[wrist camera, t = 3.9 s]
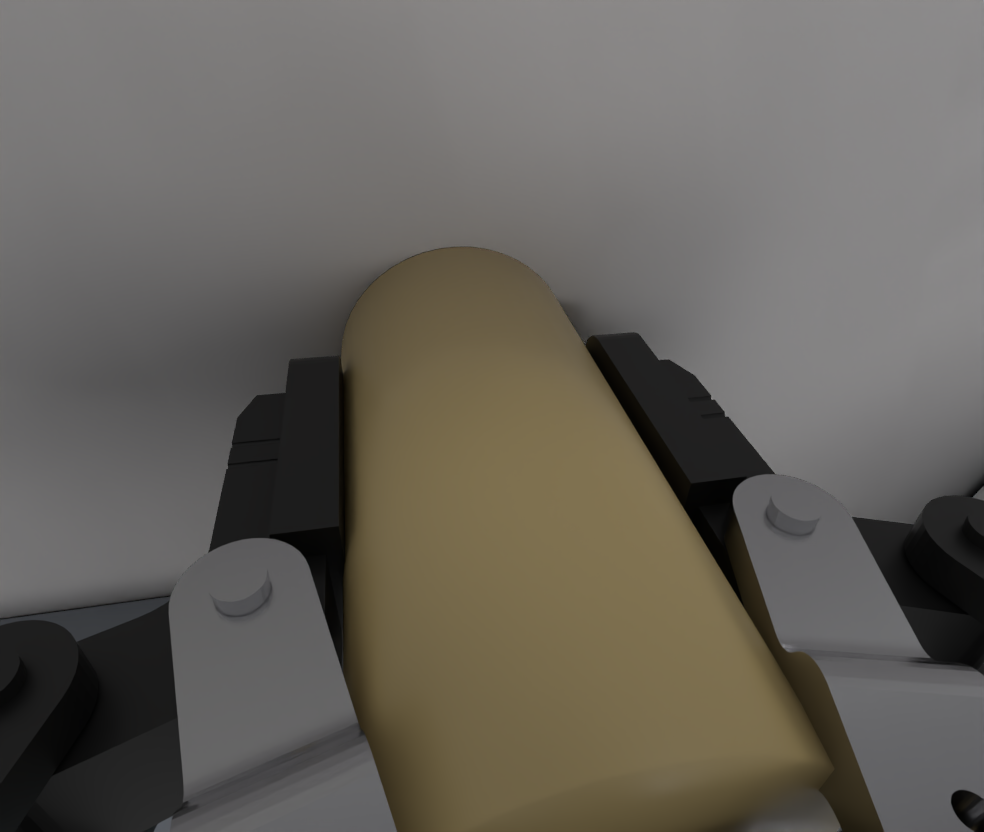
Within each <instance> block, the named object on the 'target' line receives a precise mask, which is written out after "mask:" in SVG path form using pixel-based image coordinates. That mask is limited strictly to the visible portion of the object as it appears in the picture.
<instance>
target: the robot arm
mask: <svg viewBox="0 0 984 832" xmlns="http://www.w3.org/2000/svg"><path fill="white" fill-rule="evenodd" d="M586 348H587V350H588V352H589V353H590V355H591V356H592V358H593V360H594V361H595V363H596V365H597V366H598V368H599V370H600V371H601V373H602V375H603V376H604V378H605V380H606V381H607V383H608V385H609V386H610V388H611V389H612V391H613V393H614V394H615V396H616V398H617V399H618V401H619V403H620V404H621V406H622V408H623V409H624V411H625V413H626V414H627V416H628V417H629V419H630V421H631V422H632V424H633V426H634V427H635V429H636V431H637V432H638V434H639V436H640V437H641V439H642V441H643V442H644V444H645V445H646V447H647V449H648V450H649V452H650V454H651V455H652V457H653V459H654V460H655V462H656V464H657V465H658V467H659V469H660V470H661V472H662V473H663V475H664V477H665V478H666V480H667V482H668V483H669V485H670V487H671V488H672V490H673V492H674V493H675V495H676V497H677V498H678V500H679V502H680V503H681V505H682V506H683V508H684V510H685V511H686V513H687V515H688V516H689V518H690V520H691V521H692V523H693V525H694V526H695V528H696V530H697V531H698V533H699V534H700V536H701V538H702V539H703V541H704V543H705V544H706V546H707V548H708V549H709V551H710V553H711V554H712V556H713V558H714V559H715V561H716V562H717V564H718V566H719V567H720V569H721V571H722V572H723V574H724V576H725V577H726V579H727V581H728V582H729V584H730V586H731V587H732V589H733V590H734V592H735V594H736V595H737V597H738V599H739V600H740V602H741V604H742V605H743V607H744V609H745V610H746V612H747V614H748V615H749V617H750V619H751V620H752V622H753V623H754V625H755V627H756V628H757V630H758V632H759V633H760V635H761V637H762V638H763V640H764V642H765V643H766V645H767V647H768V648H769V650H770V651H771V653H772V655H773V657H774V658H775V660H776V662H777V663H778V665H779V667H780V668H781V670H782V672H783V674H784V675H785V677H786V679H787V680H788V682H789V684H790V686H791V687H792V689H793V691H794V692H795V694H796V696H797V698H798V699H799V701H800V703H801V704H802V706H803V708H804V710H805V712H806V714H807V716H808V718H809V720H810V722H811V724H812V726H813V728H814V730H815V732H816V734H817V735H818V737H819V739H820V741H821V743H822V745H823V747H824V749H825V751H826V753H827V755H828V757H829V759H830V761H831V763H832V765H833V766H834V768H835V769H834V771H833V772H832V773H831V775H830V776H829V777H828V779H827V780H826V781H825V782H824V784H823V785H822V786H821V788H820V789H819V790H818V791H819V792H821V793H822V795H823V796H824V797H825V799H826V800H827V801H828V803H829V804H830V806H831V808H832V810H833V811H834V813H835V815H836V818H837V820H838V822H839V824H840V828H839V829H838V831H837V832H984V500H980V499H976V498H971V497H965V496H943V497H939V498H936V499H933V500H931V501H930V502H929V503H927V504H926V506H925V507H924V509H923V511H922V512H921V514H920V516H919V517H918V519H917V520H916V522H915V524H914V525H912V524H904V523H896V522H888V521H880V520H872V519H864V518H856V517H851V515H850V514H849V512H848V511H847V509H846V508H845V507H844V506H843V505H842V504H841V503H840V502H839V501H838V500H837V499H836V498H835V497H833V496H832V495H831V494H829V493H828V492H826V491H825V490H823V489H821V488H820V487H818V486H816V485H814V484H811V483H809V482H807V481H804V480H801V479H798V478H795V477H790V476H786V475H777V474H775V473H774V472H773V471H772V470H771V468H770V467H769V466H768V465H767V464H766V462H765V461H764V460H763V459H762V457H761V456H760V455H759V454H758V453H757V451H756V450H755V449H754V448H753V446H752V445H751V444H750V443H749V442H748V440H747V439H746V438H745V437H744V435H743V434H742V433H741V432H740V430H739V429H738V428H737V427H736V426H735V424H734V423H733V422H732V421H731V419H730V418H729V417H725V415H724V413H725V412H724V411H723V410H722V408H721V407H720V406H719V405H718V404H717V402H716V401H715V400H711V395H710V394H709V393H708V391H707V390H706V389H705V388H704V386H703V385H702V384H701V383H700V381H699V380H698V379H697V378H696V377H695V376H694V375H693V374H691V373H690V372H688V371H686V370H685V369H683V368H682V367H680V366H678V365H677V364H675V363H674V362H672V361H670V360H658V359H657V357H656V356H655V355H654V353H653V352H652V351H651V349H650V348H649V347H648V345H647V344H646V343H645V342H644V340H643V339H642V338H641V336H640V335H639V334H637V333H634V332H633V333H621V334H608V335H596V336H591V337H589V339H588V341H587V343H586ZM344 565H345V494H344V398H343V370H342V364H341V359H340V356H327V357H315V358H302V359H291V360H290V361H289V368H288V376H287V385H286V393H280V394H268V395H257V396H256V397H255V398H254V399H253V400H252V402H251V403H250V404H249V405H248V406H247V407H246V409H245V410H244V411H243V412H242V413H241V414H240V415H239V417H238V418H237V422H236V426H235V431H234V436H233V441H232V448H231V450H230V455H229V459H228V469H226V474H225V478H224V483H223V488H222V492H221V497H220V502H219V507H218V511H217V516H216V521H215V525H214V530H213V535H212V540H211V544H210V549H209V552H208V553H207V554H206V555H204V556H203V557H201V558H200V559H198V560H197V561H196V562H195V563H194V564H192V565H191V566H190V567H189V568H188V569H187V570H186V571H185V572H184V574H183V575H182V576H181V577H180V579H179V580H178V582H177V583H176V585H175V587H174V589H173V591H172V593H171V597H170V600H169V601H168V602H167V603H165V604H164V605H162V606H160V607H158V608H157V609H155V610H153V611H151V612H149V613H147V614H145V615H142V616H140V617H138V618H135V619H133V620H130V621H128V622H125V623H123V624H120V625H118V626H115V627H113V628H110V629H108V630H105V631H102V632H100V633H97V634H95V635H92V636H90V637H87V638H85V639H82V640H80V641H77V642H76V640H75V639H74V637H73V636H72V634H71V633H70V632H69V631H68V630H67V629H65V628H64V627H62V626H60V625H58V624H56V623H53V622H49V621H44V620H25V621H17V622H12V623H8V624H4V625H1V626H0V832H154V830H155V828H156V826H157V824H158V823H160V822H162V821H164V820H166V819H168V818H170V817H172V816H173V817H172V820H171V826H170V832H397V830H396V827H395V824H394V820H393V817H392V814H391V811H390V808H389V805H388V802H387V799H386V795H385V792H384V789H383V786H382V783H381V780H380V777H379V774H378V771H377V767H376V764H375V761H374V758H373V755H372V752H371V749H370V747H369V744H368V741H367V738H366V736H365V733H364V731H363V729H361V728H360V725H359V723H358V720H357V717H356V714H355V711H354V708H353V705H352V701H351V698H350V695H349V692H348V689H347V686H346V682H345V679H344V676H343V673H342V653H343V574H344Z"/></svg>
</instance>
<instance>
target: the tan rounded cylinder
mask: <svg viewBox="0 0 984 832" xmlns="http://www.w3.org/2000/svg"><path fill="white" fill-rule="evenodd" d="M341 364H342V370H343V398H344V494H345V565H344V574H343V676H344V679H345V682H346V686H347V689H348V692H349V695H350V698H351V701H352V705H353V708H354V711H355V714H356V717H357V720H358V723H359V725H360V728H361V729H363V731H364V733H365V736H366V738H367V741H368V744H369V747H370V749H371V752H372V755H373V758H374V761H375V764H376V767H377V771H378V774H379V777H380V780H381V783H382V786H383V789H384V792H385V795H386V799H387V802H388V805H389V808H390V811H391V814H392V817H393V820H394V824H395V827H396V830H397V832H837V831H838V829H839V828H840V824H839V822H838V820H837V818H836V815H835V813H834V811H833V810H832V808H831V806H830V804H829V803H828V801H827V800H826V799H825V797H824V796H823V795H822V793H821V792H819V791H818V790H819V789H820V788H821V786H822V785H823V784H824V782H825V781H826V780H827V779H828V777H829V776H830V775H831V773H832V772H833V771H834V769H835V768H834V766H833V765H832V763H831V761H830V759H829V757H828V755H827V753H826V751H825V749H824V747H823V745H822V743H821V741H820V739H819V737H818V735H817V734H816V732H815V730H814V728H813V726H812V724H811V722H810V720H809V718H808V716H807V714H806V712H805V710H804V708H803V706H802V704H801V703H800V701H799V699H798V698H797V696H796V694H795V692H794V691H793V689H792V687H791V686H790V684H789V682H788V680H787V679H786V677H785V675H784V674H783V672H782V670H781V668H780V667H779V665H778V663H777V662H776V660H775V658H774V657H773V655H772V653H771V651H770V650H769V648H768V647H767V645H766V643H765V642H764V640H763V638H762V637H761V635H760V633H759V632H758V630H757V628H756V627H755V625H754V623H753V622H752V620H751V619H750V617H749V615H748V614H747V612H746V610H745V609H744V607H743V605H742V604H741V602H740V600H739V599H738V597H737V595H736V594H735V592H734V590H733V589H732V587H731V586H730V584H729V582H728V581H727V579H726V577H725V576H724V574H723V572H722V571H721V569H720V567H719V566H718V564H717V562H716V561H715V559H714V558H713V556H712V554H711V553H710V551H709V549H708V548H707V546H706V544H705V543H704V541H703V539H702V538H701V536H700V534H699V533H698V531H697V530H696V528H695V526H694V525H693V523H692V521H691V520H690V518H689V516H688V515H687V513H686V511H685V510H684V508H683V506H682V505H681V503H680V502H679V500H678V498H677V497H676V495H675V493H674V492H673V490H672V488H671V487H670V485H669V483H668V482H667V480H666V478H665V477H664V475H663V473H662V472H661V470H660V469H659V467H658V465H657V464H656V462H655V460H654V459H653V457H652V455H651V454H650V452H649V450H648V449H647V447H646V445H645V444H644V442H643V441H642V439H641V437H640V436H639V434H638V432H637V431H636V429H635V427H634V426H633V424H632V422H631V421H630V419H629V417H628V416H627V414H626V413H625V411H624V409H623V408H622V406H621V404H620V403H619V401H618V399H617V398H616V396H615V394H614V393H613V391H612V389H611V388H610V386H609V385H608V383H607V381H606V380H605V378H604V376H603V375H602V373H601V371H600V370H599V368H598V366H597V365H596V363H595V361H594V360H593V358H592V356H591V355H590V353H589V352H588V350H587V348H586V347H585V345H584V343H583V342H582V340H581V338H580V337H579V335H578V333H577V332H576V330H575V328H574V327H573V325H572V324H571V322H570V320H569V319H568V317H567V315H566V314H565V312H564V310H563V309H562V307H561V305H560V304H559V302H558V300H557V299H556V297H555V296H554V294H553V293H552V291H551V289H550V288H549V286H548V285H547V284H546V283H545V282H544V281H543V280H542V278H541V277H540V276H539V275H538V274H536V273H535V272H534V271H533V270H531V269H530V268H529V267H528V266H526V265H524V264H523V263H521V262H519V261H518V260H516V259H514V258H512V257H509V256H507V255H505V254H502V253H499V252H495V251H491V250H488V249H481V248H474V247H452V248H443V249H437V250H433V251H429V252H425V253H422V254H419V255H416V256H414V257H411V258H409V259H406V260H405V261H403V262H401V263H399V264H397V265H395V266H394V267H392V268H391V269H389V270H388V271H386V272H385V273H384V274H382V275H381V276H380V277H379V278H378V279H376V280H375V281H374V282H373V283H372V284H371V285H370V286H369V287H368V288H367V290H366V291H365V292H364V293H363V295H362V296H361V297H360V298H359V300H358V301H357V303H356V305H355V306H354V308H353V310H352V311H351V314H350V316H349V319H348V321H347V323H346V327H345V331H344V335H343V339H342V351H341Z"/></svg>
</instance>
